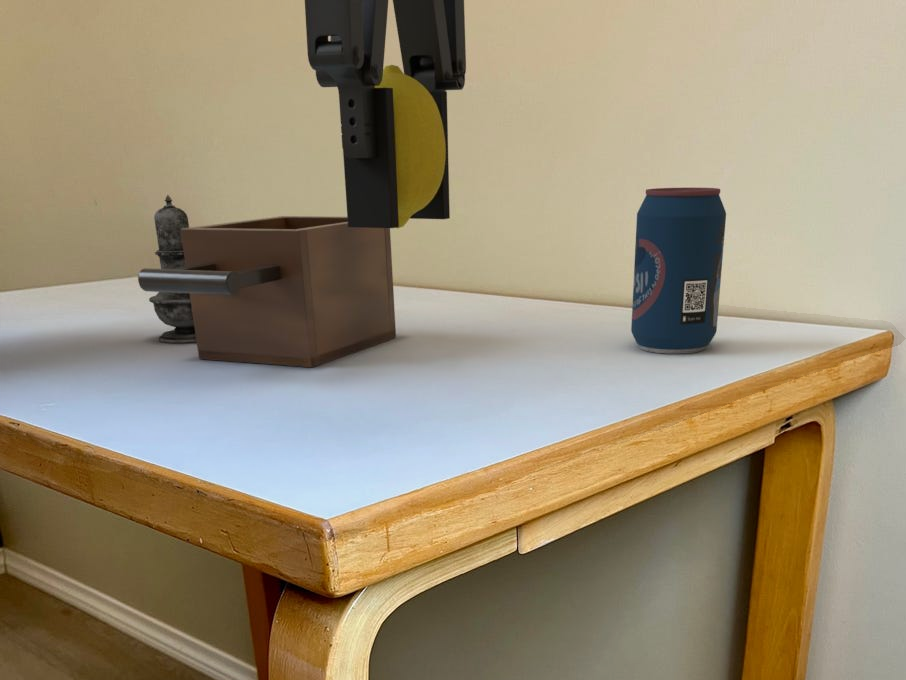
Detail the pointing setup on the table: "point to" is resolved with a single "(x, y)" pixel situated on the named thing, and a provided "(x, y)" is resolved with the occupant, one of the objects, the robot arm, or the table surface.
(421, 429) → the table surface
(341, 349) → the wooden handled box
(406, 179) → the lemon
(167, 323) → the salt shaker
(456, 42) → the robot arm
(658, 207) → the soda can
